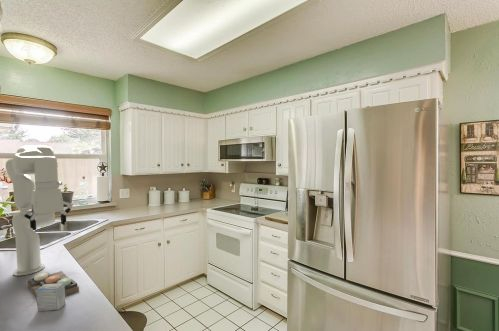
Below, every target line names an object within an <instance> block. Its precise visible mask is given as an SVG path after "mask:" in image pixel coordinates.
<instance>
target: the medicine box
mask: <svg viewBox="0 0 499 331" xmlns="http://www.w3.org/2000/svg"><path fill="white" fill-rule="evenodd" d="M36 293H37V297H36V306H37V312H44V311H58V310H60V309H61V308H62V307H63V306H65V305H66V296H65V287H64V283H59V284H44V285H43V286H41V287H40V288H38V289H37V290H36Z"/></svg>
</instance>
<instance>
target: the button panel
mask: <svg viewBox="0 0 499 331" xmlns="http://www.w3.org/2000/svg"><path fill="white" fill-rule="evenodd" d="M47 273H48V277H50V276H54V275H59V280H61V279H65V278H70V277H69V276H68V275H67V274H65V273H64V272H63V271H58V272H54V273H51V274H50V273H49V272H47ZM44 284H45V280H41V281H38V282H34V277H31V278H29V279H28V281H27V287H28V288H29V289H30V290H31V292H32V294H33V295H34V296H35V297H36V298H37V293H36V290H37V289H38V288H40V287H41V286H43V285H44ZM53 284H57V282H56V283H53ZM77 292H80V286H79V285H78V283H77V281H76V280H75V279H73V278H71V285H68V286H65V297H67V296H70V295H73V294H75V293H77Z"/></svg>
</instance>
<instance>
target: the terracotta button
mask: <svg viewBox="0 0 499 331" xmlns="http://www.w3.org/2000/svg"><path fill="white" fill-rule="evenodd" d="M58 281H59V275H54V276H50V277H48V278H46V279H45V284H53V283H56V282H58Z"/></svg>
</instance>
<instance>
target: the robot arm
mask: <svg viewBox="0 0 499 331" xmlns="http://www.w3.org/2000/svg"><path fill="white" fill-rule="evenodd" d="M58 167H59V164H58V159H57V157H55V151H54V150H53V148H52V147H51V146H48V145H24V146H21V147H19V148H18V149H17V151H16V152H15V154H14V155H13V157H12V158H9V159H8V160H7V161H6V162H5V170H6V173H7V175H8V177H9V179H10V180H11V182H12V187H13V188H12V189H13V199H14V200H13V201H14V205H15V208H16V209H18V210H20V212H18V213H16V214H15V215H13V216H12V219H11V224H12V227H13V231H14V237H15V252H16V253H15V254H16V269H15V270H14V271H13V272H12V273H13V276H18V277H21V276H27V275H31V274H34V273H38V272H40V271H42V270H43V269H45V264H44V263H41V242H40V235H39V233H37V232H36V230H37V229H39V228H44V227H49V226H52V225H54V223H55V220H56V214H55V213H58V212H59V213H60V224H61V225H66V223H67V215H68V213H69V212H70V211H71V209H72V208H73V206H74V204H73V203H71V202H68V201H65V200H64V199H63V194H62V189H61V188H60V186H63V182H62V181H59V173H58ZM30 175H34V179H32V177H31V176H30ZM65 205H66V208H65V210H64V206H65Z"/></svg>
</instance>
